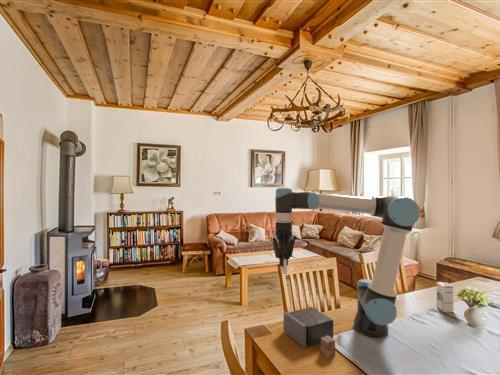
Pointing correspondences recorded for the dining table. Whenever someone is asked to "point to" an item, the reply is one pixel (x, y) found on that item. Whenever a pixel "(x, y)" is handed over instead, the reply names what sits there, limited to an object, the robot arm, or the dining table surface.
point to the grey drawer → (295, 329)
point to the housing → (314, 324)
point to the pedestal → (327, 346)
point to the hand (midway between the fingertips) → (283, 273)
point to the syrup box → (445, 297)
